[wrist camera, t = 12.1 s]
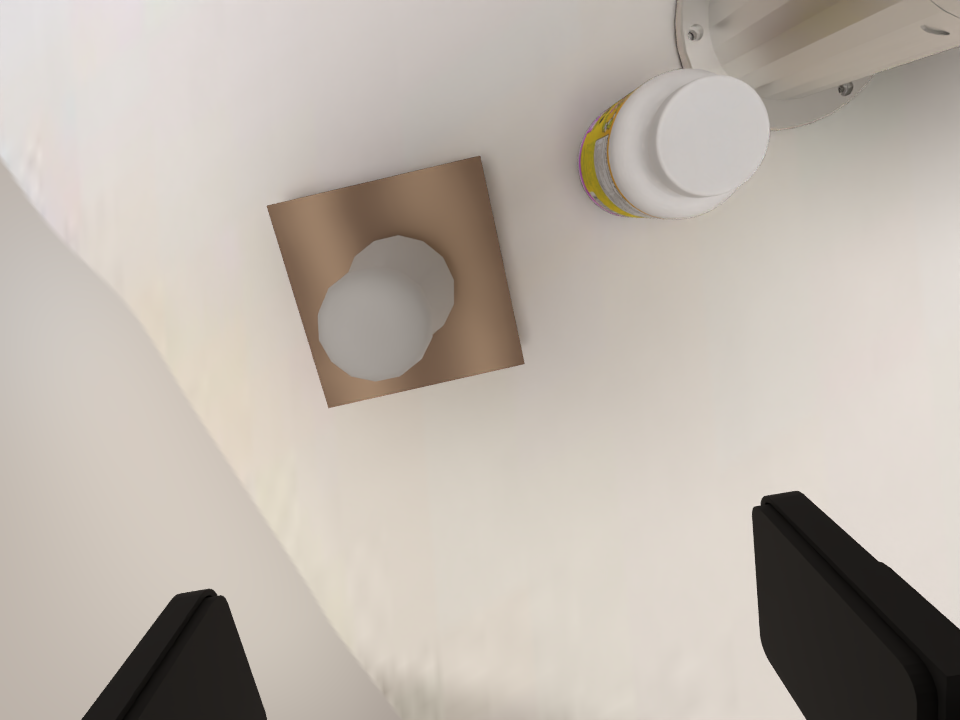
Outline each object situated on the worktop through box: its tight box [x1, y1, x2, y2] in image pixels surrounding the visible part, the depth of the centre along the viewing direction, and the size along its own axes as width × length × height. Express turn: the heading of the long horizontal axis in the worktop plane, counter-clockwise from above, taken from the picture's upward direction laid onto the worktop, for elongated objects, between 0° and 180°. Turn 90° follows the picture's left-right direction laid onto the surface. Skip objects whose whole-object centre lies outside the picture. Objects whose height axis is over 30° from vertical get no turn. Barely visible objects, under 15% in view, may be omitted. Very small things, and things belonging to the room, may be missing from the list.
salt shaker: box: [318, 235, 454, 382], centre depth 28 cm, size 6×6×13 cm
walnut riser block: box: [267, 156, 524, 408], centre depth 36 cm, size 12×12×4 cm
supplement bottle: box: [578, 68, 770, 219], centre depth 30 cm, size 7×7×13 cm
